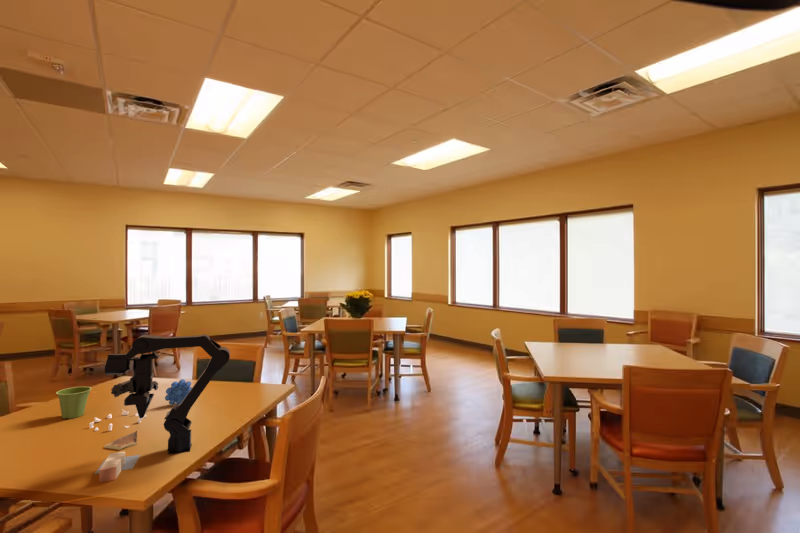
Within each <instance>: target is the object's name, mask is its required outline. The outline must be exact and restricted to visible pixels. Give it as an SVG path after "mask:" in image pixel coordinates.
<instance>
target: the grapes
mask: <svg viewBox="0 0 800 533" xmlns="http://www.w3.org/2000/svg"><path fill="white" fill-rule="evenodd" d="M192 387H193V386H192V382H191V381H186V379H185V378H184V379H183V378H182V379H180V380H179V381H173V382H172V383H171V384H170V387H168V388H166V390H165V394H166V395H165V397H164V400H165V401H168V404H169V405H170V406H173V405H174V403H176V404H177V405H179V404H180V403H181V402H182V401H183V400H184V398H185V397H186V396H187V394H188V393H189V391H190V390H191V389H192Z"/></svg>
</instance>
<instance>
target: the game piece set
mask: <svg viewBox="0 0 800 533" xmlns="http://www.w3.org/2000/svg"><path fill="white" fill-rule="evenodd" d="M121 410H122V412H121V415H123V416H127V415H129V414H130V413H129V409H128V410H127V411H126V410H124V409H123V408H121ZM134 416H135V417H138V418H137V420H136V422H137V423H139V424H140V423H142V420H143V419H144V418H147V416H148V415H147V414H145V415H144V417H143V418H139V415H138V411H137V410H136V413H134ZM93 418H94V420H93V421H92V422H89V424H88V425H89V427H88V429H92V428H93V429H94V432H98V431H99V428H98V426H96V427H95V426H94V423H99V422H101V421H102V419H101V418H98V417H96V416H95V417H93ZM112 418H113V416H112V413H110V414H107V417H106V419H112ZM94 427H95V428H94ZM123 427H124V428H125V429H127V428H130V425H123ZM112 430H113V423H109V424H108V432H111V431H112Z"/></svg>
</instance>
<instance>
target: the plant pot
mask: <svg viewBox="0 0 800 533" xmlns="http://www.w3.org/2000/svg"><path fill="white" fill-rule="evenodd" d="M92 389H93V388H92V387H91V386H74V387H68V388H63V389H61V390H58V391H56V392H55V394H56V395H57V397H58V401H59V405H60V406H59V407H60V411H61V412H60V413H61V418H62V419H65V420H66V419H76V418H79V417H81V416H83V415H85V410H86V406H87V402H88V398H89V395H90V392H91V390H92Z"/></svg>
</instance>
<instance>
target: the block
mask: <svg viewBox="0 0 800 533" xmlns="http://www.w3.org/2000/svg"><path fill="white" fill-rule="evenodd" d="M125 457H126V451H118V452H110V453H109V455H108V456H107V458H106V459H105V460H106V461H105V462H104V461H103V462H104V464H103V465H102V464H101V465H102V467H101V469H100V470H99V476H98V477H99V478H98V480H99V481H98V482H99V483H102V482H108V481H116V480H117V478H118V477H119V474H121V471H123V470H122V468H123V466H124V464H125Z"/></svg>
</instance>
